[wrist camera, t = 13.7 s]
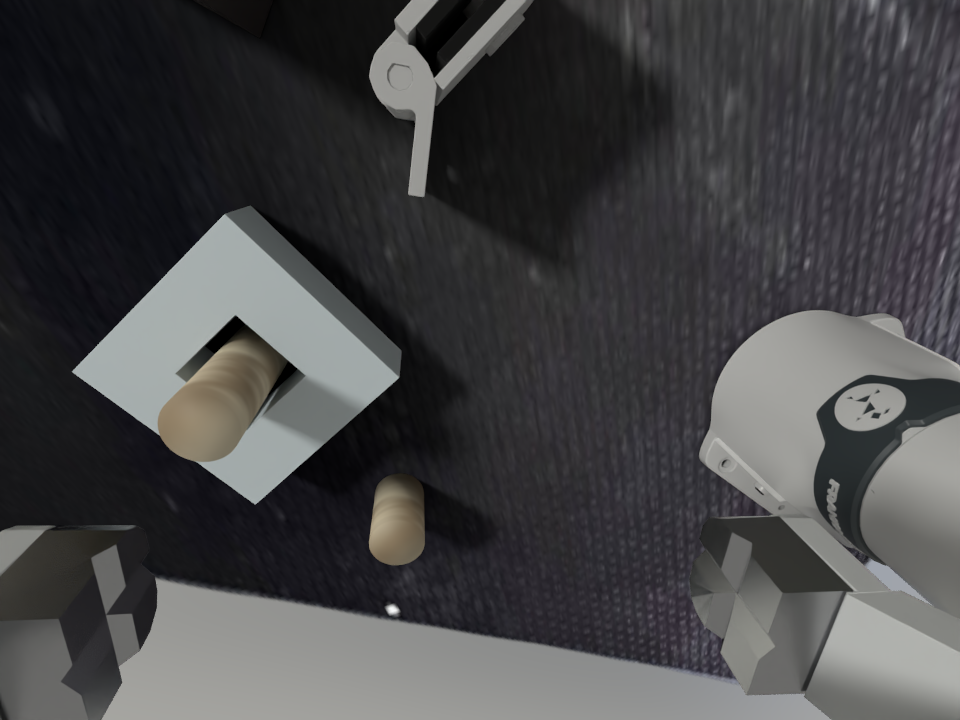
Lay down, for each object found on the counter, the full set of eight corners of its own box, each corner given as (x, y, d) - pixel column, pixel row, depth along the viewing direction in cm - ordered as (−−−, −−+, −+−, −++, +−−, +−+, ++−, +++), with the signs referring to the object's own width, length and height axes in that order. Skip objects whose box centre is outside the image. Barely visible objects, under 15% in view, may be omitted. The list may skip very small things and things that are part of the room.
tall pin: (303, 348, 39) (257, 428, 28) (265, 383, 39) (206, 475, 28) (259, 310, 37) (192, 377, 26) (221, 346, 38) (140, 427, 27)
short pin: (433, 493, 44) (436, 542, 39) (399, 521, 45) (396, 573, 40) (400, 464, 43) (397, 511, 38) (365, 494, 44) (357, 544, 38)
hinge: (420, 189, 36) (420, 203, 26) (348, 141, 34) (321, 138, 25) (541, -12, 32) (590, -78, 23) (467, -76, 31) (487, -175, 21)
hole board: (401, 350, 39) (399, 377, 35) (273, 465, 42) (255, 504, 37) (250, 205, 35) (224, 214, 30) (114, 344, 37) (71, 371, 32)
